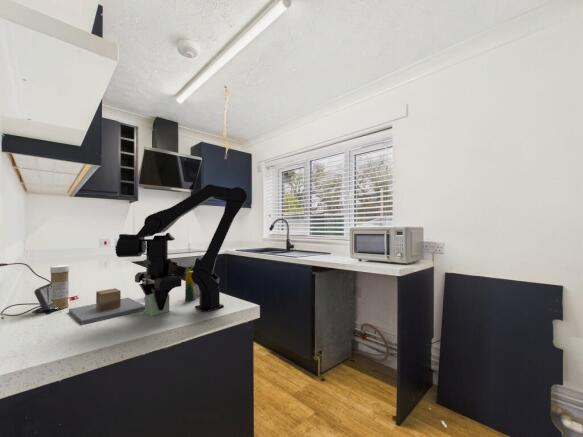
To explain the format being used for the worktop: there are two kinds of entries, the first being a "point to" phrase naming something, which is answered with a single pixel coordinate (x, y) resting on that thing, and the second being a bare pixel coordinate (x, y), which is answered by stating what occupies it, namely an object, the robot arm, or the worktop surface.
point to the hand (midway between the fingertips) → (157, 308)
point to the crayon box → (190, 285)
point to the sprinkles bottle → (59, 285)
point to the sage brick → (154, 305)
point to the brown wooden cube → (108, 299)
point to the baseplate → (105, 311)
